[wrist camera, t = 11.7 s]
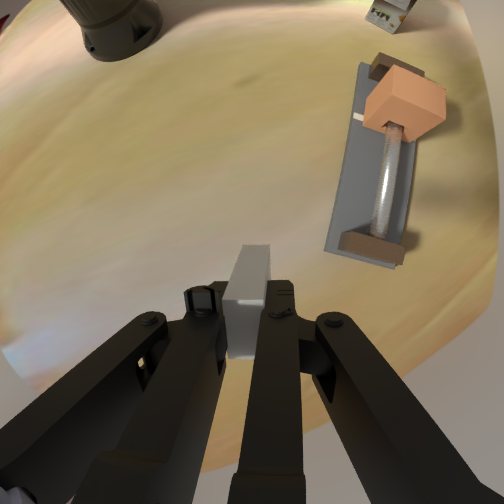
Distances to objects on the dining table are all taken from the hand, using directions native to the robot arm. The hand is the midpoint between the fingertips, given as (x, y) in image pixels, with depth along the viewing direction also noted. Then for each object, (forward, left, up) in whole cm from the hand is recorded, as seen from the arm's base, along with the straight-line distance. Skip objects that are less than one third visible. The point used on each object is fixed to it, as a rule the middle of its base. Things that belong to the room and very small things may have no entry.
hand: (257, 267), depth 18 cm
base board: (-12, +21, -26) cm, 35 cm away
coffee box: (-43, +31, -26) cm, 59 cm away
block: (-18, +23, -24) cm, 38 cm away
